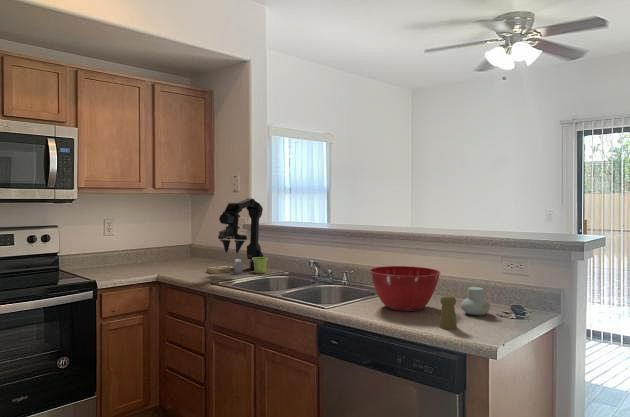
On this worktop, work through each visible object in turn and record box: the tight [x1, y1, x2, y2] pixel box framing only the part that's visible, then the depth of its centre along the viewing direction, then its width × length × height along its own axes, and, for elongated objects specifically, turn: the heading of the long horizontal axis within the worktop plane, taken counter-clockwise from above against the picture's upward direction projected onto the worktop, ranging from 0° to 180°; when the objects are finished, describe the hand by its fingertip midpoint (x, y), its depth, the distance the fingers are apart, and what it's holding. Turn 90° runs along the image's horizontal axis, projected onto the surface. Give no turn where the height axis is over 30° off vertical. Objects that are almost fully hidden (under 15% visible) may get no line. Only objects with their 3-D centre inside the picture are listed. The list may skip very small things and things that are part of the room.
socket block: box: [206, 265, 234, 275], centre depth 289 cm, size 14×10×3 cm
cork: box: [438, 294, 458, 330], centre depth 172 cm, size 6×6×11 cm
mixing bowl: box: [369, 265, 441, 312], centre depth 201 cm, size 28×28×16 cm
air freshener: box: [460, 286, 491, 317], centre depth 191 cm, size 11×8×10 cm
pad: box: [228, 271, 248, 276], centre depth 284 cm, size 9×9×1 cm
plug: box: [233, 258, 243, 275], centre depth 284 cm, size 4×4×8 cm
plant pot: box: [252, 256, 269, 274], centre depth 288 cm, size 9×9×9 cm
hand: (231, 252), depth 276 cm, fingers open, 9 cm apart
